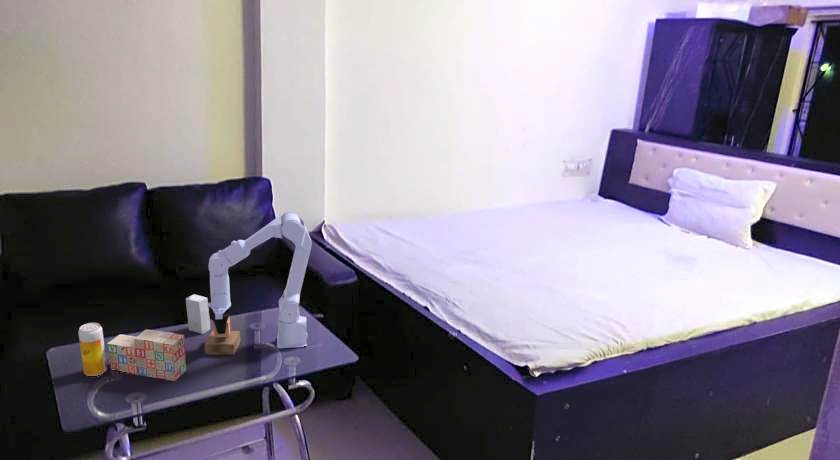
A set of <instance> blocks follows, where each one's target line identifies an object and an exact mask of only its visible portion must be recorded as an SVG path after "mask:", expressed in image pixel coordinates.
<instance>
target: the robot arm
mask: <svg viewBox="0 0 840 460" xmlns="http://www.w3.org/2000/svg"><path fill="white" fill-rule="evenodd" d="M308 231H309V230H308V229H307V227H306V224H305V221H304V220H303V219H302V217H301V216H300V215H299V214H298V213H296V212H294V211H286V212H284V213H283V214H282V215H279V216H276V218H274V219H273V220H272V221H270V222H269V223H268V224H266V225H265V226H264V227H262V228H260V229H259V230H258V231H257V232H254V234H252V235H250V236H249V237H248V238H247V239H245V240H243V239H238V240H237V241H236V240H232V241H231V242H230V243H231V244H230V245H228V246H227V247H225V248H224V249H219V250H218V251H217V252H215V253H213V254H212V255H210V257H209V261H208V266H207V267H208V271H209V288H210V289H209V291H210V301H211V302H208V305H207V307H208V308H211V310H212V311H213V312H211V313H210V319H211V320H212V321H213V323H215V326H216V329H217V332H218V334H225V331H226V323H227V320H228V318H229V316H230V315H231V314H230V313H229V312H230V310H231V308H232V302H231V292H230V291H231V290H230V289H231V288H230V276H229V268H231V267H233V266H235V265H236V264H237V263H239V262H241V261H242V260H244V259H246V258H248V257H249V255H250V254H251V250H253V249H254V248H256V247H257V246H259V245H262V244H263V243H264V242H266V241H267V240H270V239H271V238H277V239H278V238H279V239H283V236H284V238H286V239H287V240H289V241H291V242H292V243H293V244H294V246H295V248H294V252H293V256H292V261H291V264H290V265H291V266H290V269H289V273H288V278H287V282H286V286H285V289H284V290H283V294H282V296H281V297H280V298H279V299H278V302H277V303H278V307H279V313H278V316H277V332H278V333H277V337H276V348H277V349H289V348H290V349H292V348H305V347H304V346H306V347H307V345H308V344H307V339H308V332H307V317H306V316H301V315H300V308H299V305H300V299H301V298H300V297H301V291H302V287H303V283H304V278H305V275H306V270H307V266H308V264H309V263H308V261H309V259H310V254H311V250H312V245H313V242H312V238H311V236H310V234H309V232H308Z"/></svg>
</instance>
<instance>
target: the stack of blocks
mask: <svg viewBox="0 0 840 460" xmlns="http://www.w3.org/2000/svg"><path fill="white" fill-rule="evenodd" d="M106 347H107V353H108V360H109V369H116V370H120V371H122V372H121V373H123V372H127V373H126V374H129V373H131V374H130V375H134V374H135V376H142V377H148V378H155V379H160V380H165V381H172V382H176V381H177V380H178V379H179V378H180V377H181V376H182V375H183V374H184V373H185V372H187V363H186V361H187V360H186V344H185V334H181V333H180V334H179V333H175V332H169V331H162V330H154V329H144V330H143V331H142V332H141V333H140V334H139V335H137V336H135V335H126V334H120V333H119V334H118V335H116V337H114V338H113V339H111V340H110V341H108V342H107V343H106Z"/></svg>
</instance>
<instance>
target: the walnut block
mask: <svg viewBox="0 0 840 460" xmlns="http://www.w3.org/2000/svg"><path fill="white" fill-rule="evenodd" d="M240 343H241V331H240V330H230V335H229V337H214V330H212V331H211V332H210V334H209V335H208V337H207V339H206V341H205V342H204V354H205V355H219V356H220V355H222V356H223V355H224V356H235V354H236V351H237V349H238V347H240V346H239V345H240Z"/></svg>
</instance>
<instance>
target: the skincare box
mask: <svg viewBox="0 0 840 460" xmlns="http://www.w3.org/2000/svg"><path fill="white" fill-rule="evenodd" d="M208 299H209V298H208V297H205V296H202V295H200V294H199V295H198V294H195V293H193V294H192V295H190V296H188V297H186V298H185V305H186V312H187V313H186V314H187V323H188V331H191V332H193V333H198V334H201V335H204V334H206V333H207V332H209V331H210V330H211V320H210V319H211V318H210V312H209V311H210V307H207V305H208V303H209V302H208V301H209V300H208Z"/></svg>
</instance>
